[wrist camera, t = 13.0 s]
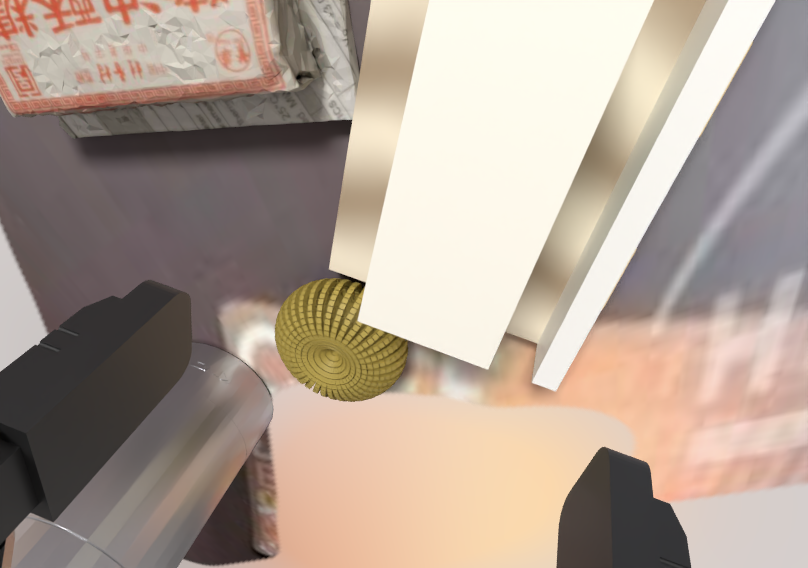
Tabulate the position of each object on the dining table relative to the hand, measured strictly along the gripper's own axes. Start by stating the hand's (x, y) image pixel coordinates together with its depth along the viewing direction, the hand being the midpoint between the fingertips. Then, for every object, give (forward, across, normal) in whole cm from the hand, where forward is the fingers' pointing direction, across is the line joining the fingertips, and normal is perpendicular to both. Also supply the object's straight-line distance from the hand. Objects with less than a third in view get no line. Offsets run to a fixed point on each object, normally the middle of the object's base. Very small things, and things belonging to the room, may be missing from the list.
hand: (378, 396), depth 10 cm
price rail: (+16, -6, 0) cm, 17 cm away
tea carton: (+16, 0, 0) cm, 16 cm away
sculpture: (+18, +5, +15) cm, 24 cm away
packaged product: (+19, +16, 0) cm, 25 cm away
